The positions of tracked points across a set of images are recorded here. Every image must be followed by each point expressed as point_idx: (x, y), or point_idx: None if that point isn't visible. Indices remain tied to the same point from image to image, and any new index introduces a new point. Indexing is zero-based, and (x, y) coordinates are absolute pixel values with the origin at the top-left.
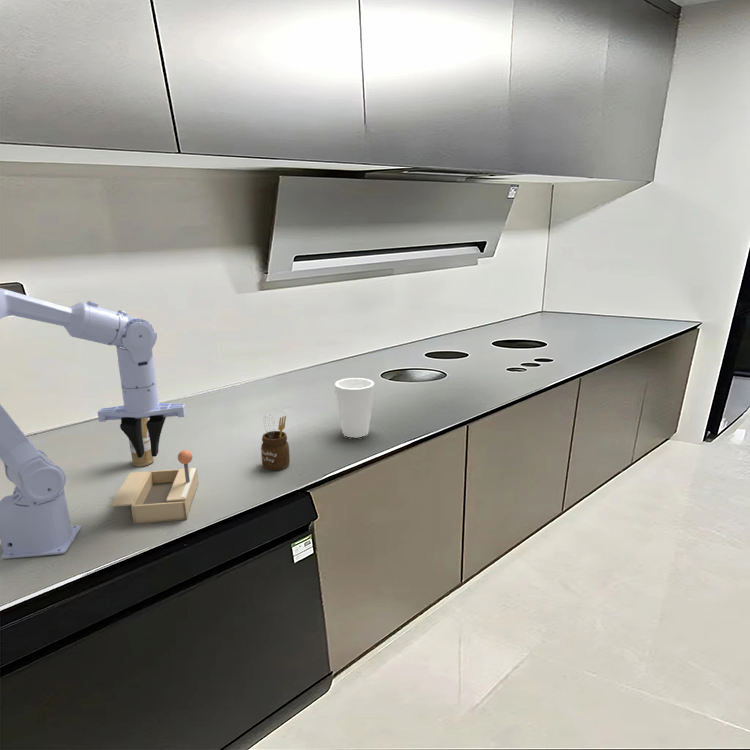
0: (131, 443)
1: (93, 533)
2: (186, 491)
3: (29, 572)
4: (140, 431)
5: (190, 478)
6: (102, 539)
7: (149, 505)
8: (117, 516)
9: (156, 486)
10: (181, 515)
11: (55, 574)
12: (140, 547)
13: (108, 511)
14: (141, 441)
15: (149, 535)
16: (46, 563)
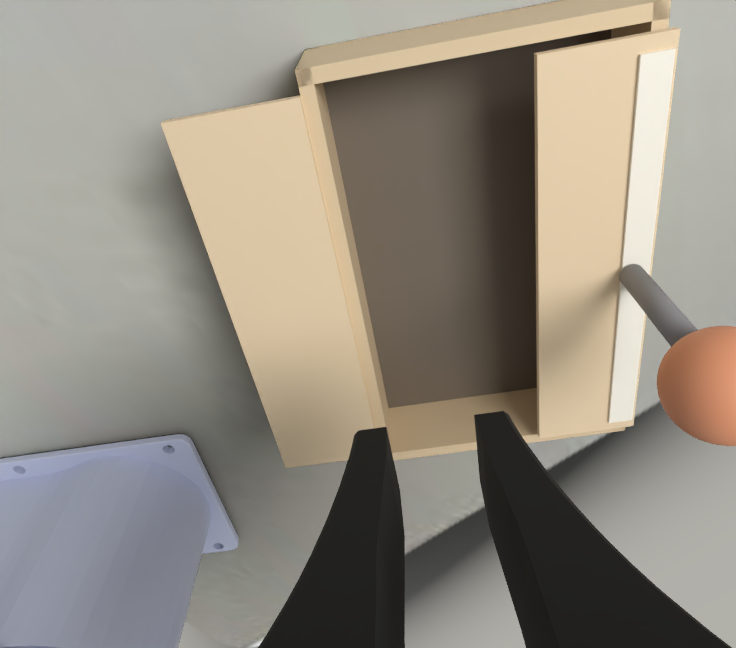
0: None
1: (257, 453)
2: (633, 375)
3: (200, 590)
4: (385, 634)
5: (644, 230)
6: (312, 479)
7: (462, 450)
8: None
9: (361, 111)
10: None
11: (276, 593)
12: (462, 508)
13: (212, 320)
14: (388, 543)
15: (470, 459)
16: (216, 565)
